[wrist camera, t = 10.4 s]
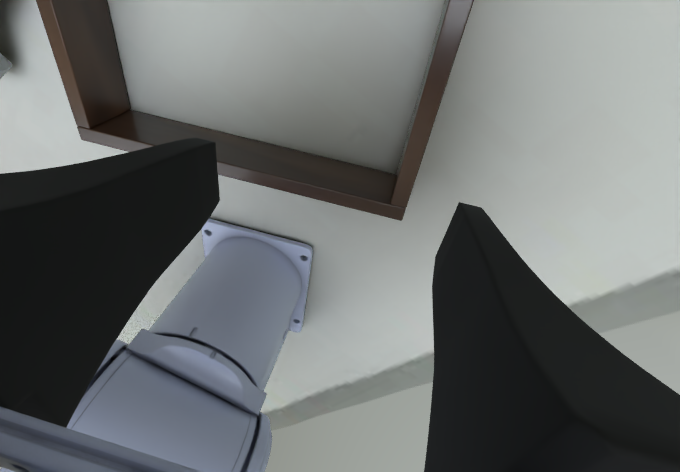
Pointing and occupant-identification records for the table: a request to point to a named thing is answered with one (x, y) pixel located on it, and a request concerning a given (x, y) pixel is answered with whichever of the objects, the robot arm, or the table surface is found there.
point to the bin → (233, 151)
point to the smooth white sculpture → (4, 65)
